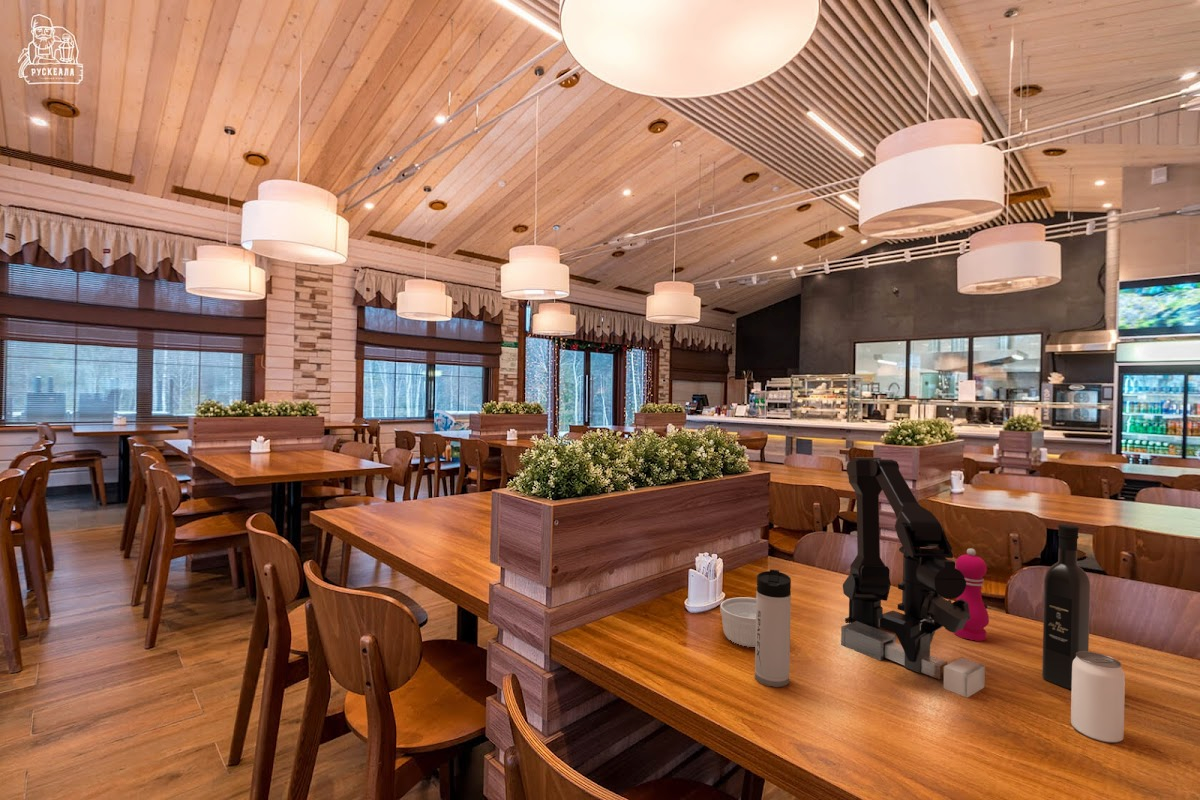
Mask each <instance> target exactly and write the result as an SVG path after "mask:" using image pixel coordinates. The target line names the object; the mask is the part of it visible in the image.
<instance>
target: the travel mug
mask: <svg viewBox="0 0 1200 800" xmlns="http://www.w3.org/2000/svg"><path fill="white" fill-rule="evenodd" d="M756 585H757V586H756V595H755V598H756V644H755V648H754V649H755V650H754V652H755V653H754V654H755V655H754V656H755V657H754V678H755V679H756V680H757V681H758V682H759V684H762V685H764V686H766V685H767V687H770V686H773V687H772V688H781V687H785V686H788V684H789V683H790V658H791V657H790V656H791V655H790V653H791V614H792V613H791V608H792V607H791V605H792V598H791V597H792V594H791V592H792V591H791V588H792V580H791V576H789V575H787V574H786V573H783V572H781V571H780V570H779V569H769V570H765V571H761V572H759V573H758V574H757V575H756Z"/></svg>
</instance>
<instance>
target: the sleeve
mask: <svg viewBox="0 0 1200 800" xmlns="http://www.w3.org/2000/svg"><path fill="white" fill-rule="evenodd" d="M840 630H841V631H840V632H841V636H840V646H843V647H846V648H848V649H851V650H853V651H855V652H858V653H861V654H863V655H865V656H868V657H869V658H872V659H873V658H874V659H875V660H877V661H881V662H882V661H883V660H884V657H883V647H884V643H885V642H888V641H892V642H895V643H896V637H897V636H896V634H894V633H892V632H891V633H890V632H889V631H888V632H887V631H886V630H885V631H884V630H883V629H882V630H881V629H880V628H878V627H876V628H874V627H871V626H868V625H866V624H863V623H860V622H857V621H855V622H852V623H849V622H848V623H847V624H845V625H841V627H840Z"/></svg>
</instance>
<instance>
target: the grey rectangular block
mask: <svg viewBox="0 0 1200 800" xmlns="http://www.w3.org/2000/svg"><path fill="white" fill-rule="evenodd" d="M985 673H986V665H984V664H982V663H979V662H976V661H974V660H970V659H969V658H964V657H963V656H962V657H960V658H957V659H956V660H954V661H951V662H948V665H946V666H944V678H943V689H945V690H946V689H947V691H949V692H950V693H951V692H952V693H953V694H956V695H959V696H962V697H964V698H966V699H967V698H969V697H971V696H972V695H974V694H977V693H978V692H980V691H981V690H982V689H984V688H985V685H986V684H985V681H986V680H985V678H986V677H985V675H986V674H985Z"/></svg>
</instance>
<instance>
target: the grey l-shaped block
mask: <svg viewBox="0 0 1200 800" xmlns="http://www.w3.org/2000/svg"><path fill="white" fill-rule="evenodd" d="M921 631H923V630H921ZM924 632H926V631H924ZM883 659H888V660H890V661H892V662H895V663H897V664H900V665H902V666H904V668H905V669H908V670H911V671H914V672H916V673H919V674H921V673H922V674H925V675H927V676H930V677H932V678H934V679H938V680H941V679H944V666H946V665H948V664H949V662H948V661H945V660H943V659H940V658H938V657H935V656H932V655H931V644H930V633H929V632H927V633H926V634H925V635H923V636H922V637H920V638H919V642H918V648H917V655H916V659H915V662H911V661H909V660H908V658H907V656H906V654H905V652H904V650H903V648H902V645H901V643H898V642H896V641H895V642H892V641H888V642H885V643H884V647H883Z"/></svg>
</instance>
